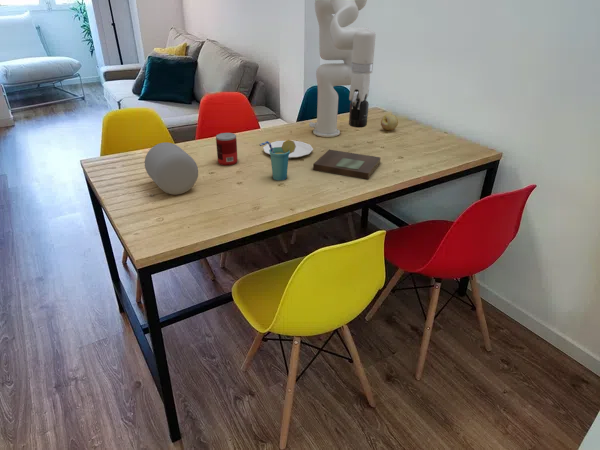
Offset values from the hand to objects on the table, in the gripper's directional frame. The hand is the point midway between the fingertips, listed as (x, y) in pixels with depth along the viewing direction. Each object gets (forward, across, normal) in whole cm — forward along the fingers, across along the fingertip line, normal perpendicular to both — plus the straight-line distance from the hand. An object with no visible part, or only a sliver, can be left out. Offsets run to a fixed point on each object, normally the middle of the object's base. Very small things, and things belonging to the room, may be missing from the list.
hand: (358, 116), depth 169 cm
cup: (+20, +24, -23) cm, 38 cm away
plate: (+20, -3, -30) cm, 36 cm away
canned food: (+20, +18, -48) cm, 54 cm away
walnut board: (+20, +2, -2) cm, 20 cm away
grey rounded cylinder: (+20, +46, -57) cm, 75 cm away
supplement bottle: (+3, 0, 0) cm, 3 cm away
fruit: (+20, -51, +2) cm, 55 cm away
